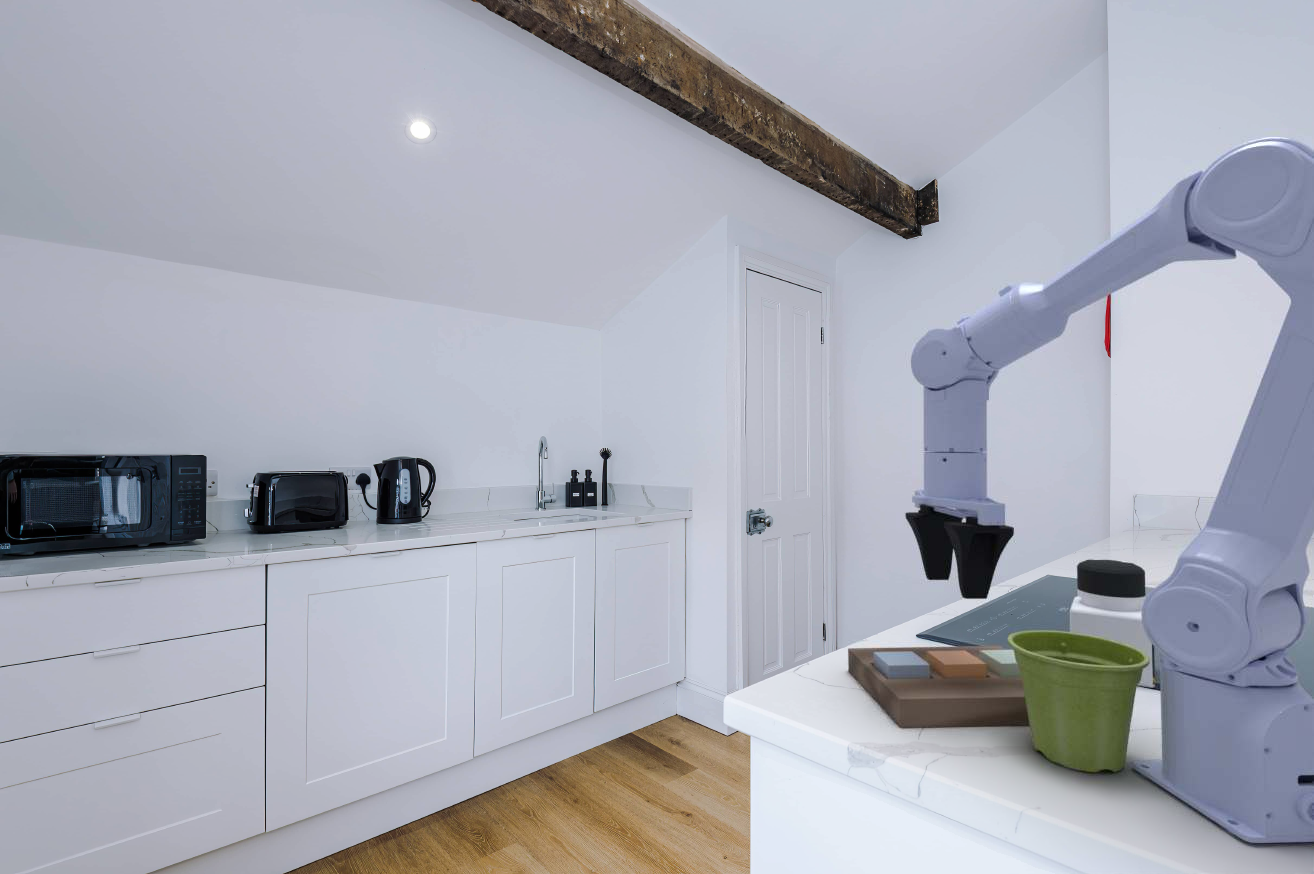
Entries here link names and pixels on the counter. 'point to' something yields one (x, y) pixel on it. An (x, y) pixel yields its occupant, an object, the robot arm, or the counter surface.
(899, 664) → the button slate
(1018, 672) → the button sage
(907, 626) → the counter surface
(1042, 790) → the counter surface
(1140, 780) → the counter surface
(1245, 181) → the robot arm
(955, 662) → the button terracotta
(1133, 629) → the medicine bottle
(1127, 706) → the plant pot
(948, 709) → the button panel
